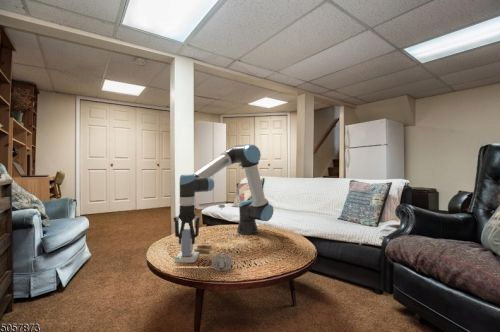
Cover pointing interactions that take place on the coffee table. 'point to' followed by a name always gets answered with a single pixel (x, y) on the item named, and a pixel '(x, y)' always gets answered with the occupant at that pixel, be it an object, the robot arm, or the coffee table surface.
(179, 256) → the port
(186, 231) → the plug
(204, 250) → the wooden rail base
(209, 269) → the coffee table surface
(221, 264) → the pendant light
